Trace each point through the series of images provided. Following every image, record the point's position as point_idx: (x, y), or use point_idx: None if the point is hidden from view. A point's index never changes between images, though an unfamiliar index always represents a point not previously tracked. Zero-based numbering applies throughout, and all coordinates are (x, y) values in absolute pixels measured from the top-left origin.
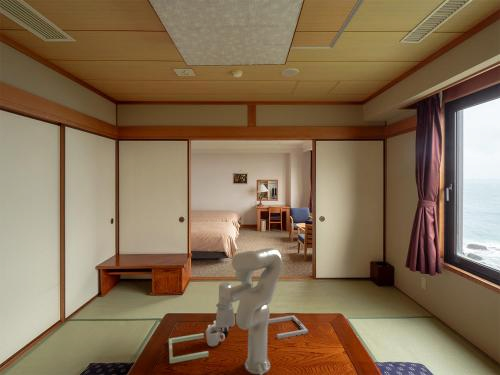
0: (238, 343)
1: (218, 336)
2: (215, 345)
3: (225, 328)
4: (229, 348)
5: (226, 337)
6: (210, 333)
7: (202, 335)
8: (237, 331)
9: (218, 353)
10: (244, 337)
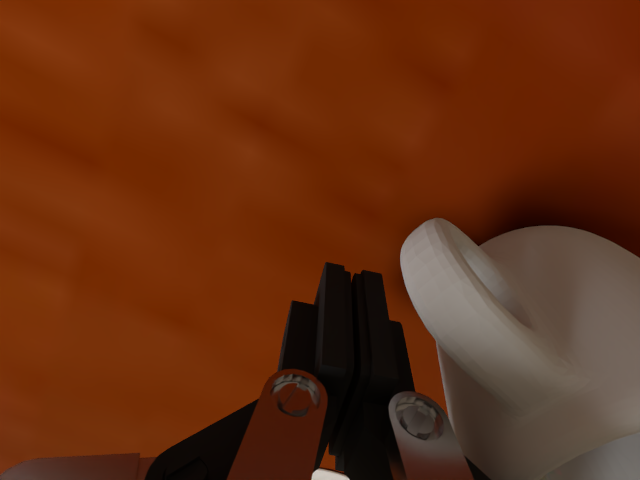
0: (143, 115)
1: (560, 319)
2: (547, 226)
3: (319, 463)
4: (355, 53)
5: (336, 269)
6: (577, 460)
7: None
8: (86, 371)
9: (625, 5)
10: (5, 217)
